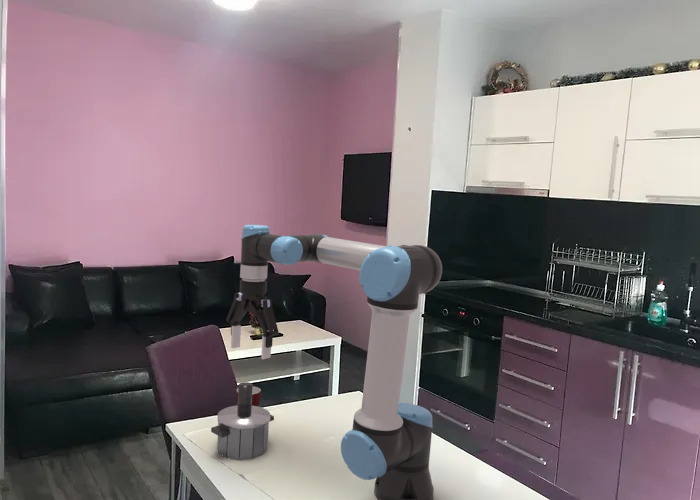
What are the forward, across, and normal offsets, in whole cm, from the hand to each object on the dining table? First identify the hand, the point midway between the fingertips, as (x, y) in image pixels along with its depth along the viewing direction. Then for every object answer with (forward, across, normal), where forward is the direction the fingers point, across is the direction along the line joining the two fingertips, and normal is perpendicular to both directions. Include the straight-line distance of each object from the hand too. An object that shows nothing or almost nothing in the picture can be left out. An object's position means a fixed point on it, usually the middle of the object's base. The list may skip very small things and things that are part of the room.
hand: (250, 352), depth 164 cm
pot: (+28, +1, +1) cm, 29 cm away
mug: (+29, +15, -12) cm, 35 cm away
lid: (+21, 0, +1) cm, 21 cm away
